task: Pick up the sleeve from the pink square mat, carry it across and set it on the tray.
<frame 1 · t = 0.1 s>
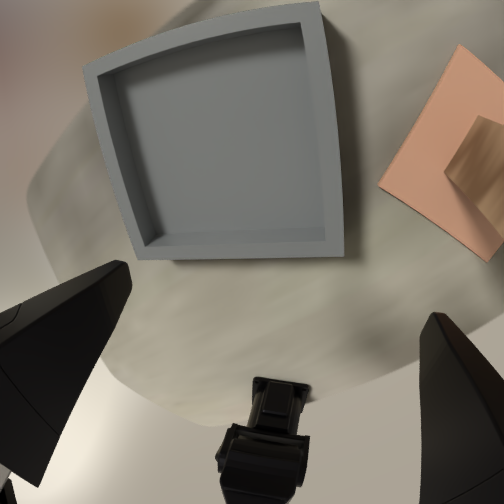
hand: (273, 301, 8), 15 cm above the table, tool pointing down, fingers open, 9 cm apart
pink square mat: (482, 162, 17), on the table
sleeve: (484, 163, 17), resting on pink square mat
tray: (219, 138, 21), on the table
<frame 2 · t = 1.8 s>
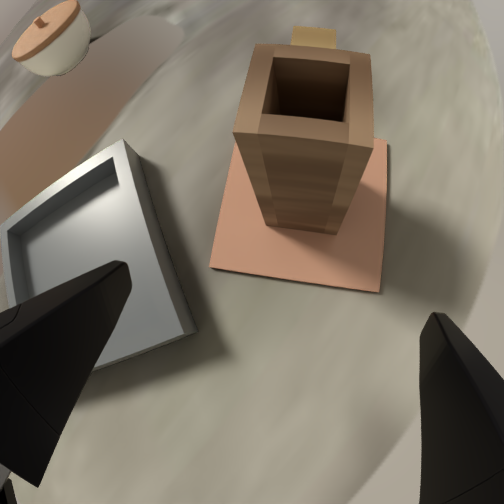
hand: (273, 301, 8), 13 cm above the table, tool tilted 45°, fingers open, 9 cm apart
pink square mat: (305, 199, 23), on the table
sleeve: (305, 197, 22), resting on pink square mat
lidded jar: (71, 60, 32), on the table
tray: (85, 273, 24), on the table
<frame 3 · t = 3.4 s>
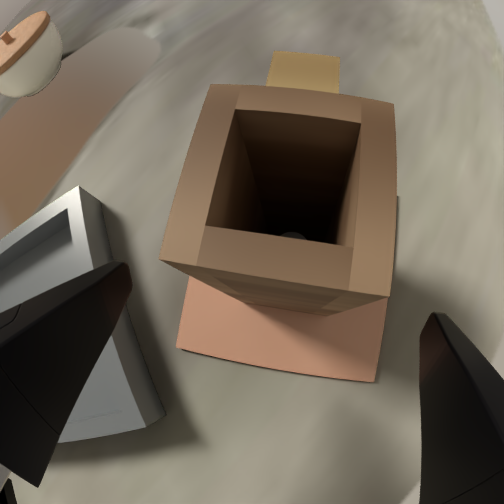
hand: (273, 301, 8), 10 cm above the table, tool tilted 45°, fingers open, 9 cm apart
pink square mat: (291, 268, 19), on the table
sleeve: (291, 267, 18), resting on pink square mat
lidded jar: (43, 78, 28), on the table
tray: (47, 335, 20), on the table
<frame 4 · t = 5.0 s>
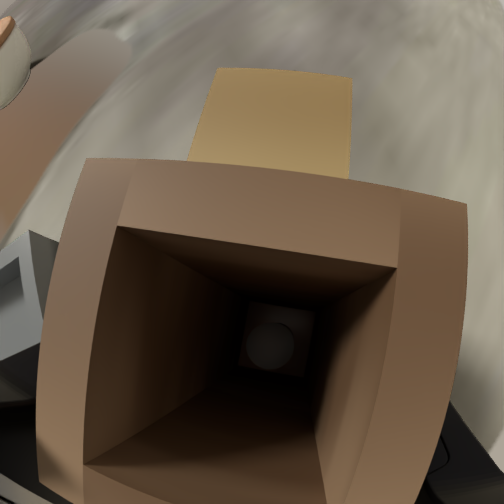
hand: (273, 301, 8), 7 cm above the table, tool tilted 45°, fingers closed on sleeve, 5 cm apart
pink square mat: (277, 339, 15), on the table
sleeve: (276, 339, 15), resting on pink square mat, touching gripper
lidded jar: (12, 89, 24), on the table
tray: (15, 386, 16), on the table
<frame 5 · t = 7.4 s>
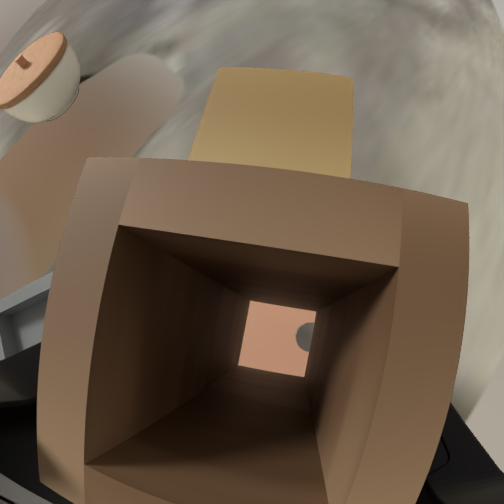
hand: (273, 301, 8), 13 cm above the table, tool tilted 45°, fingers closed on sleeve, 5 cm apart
pink square mat: (306, 333, 21), on the table
sleeve: (277, 339, 15), point 7 cm above the table, touching gripper
lidded jar: (60, 101, 30), on the table
tray: (79, 372, 22), on the table
when the fingers open (9 cm above the table, at t = 10.1 s): sleeve drops 1 cm, resting on tray.
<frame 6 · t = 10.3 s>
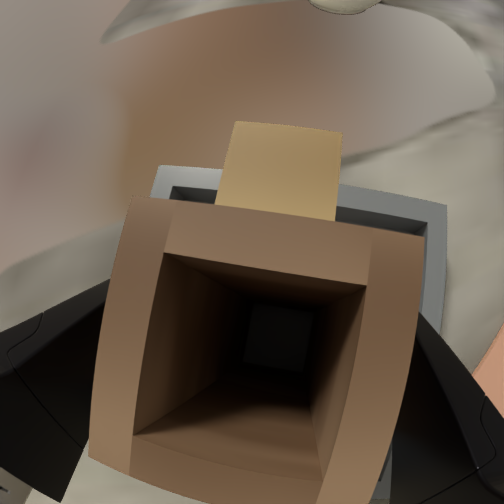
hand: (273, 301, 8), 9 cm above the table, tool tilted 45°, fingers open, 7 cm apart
sleeve: (278, 337, 16), point 1 cm above the table, touching tray
lidded jar: (337, 1, 23), on the table
tray: (279, 337, 17), on the table
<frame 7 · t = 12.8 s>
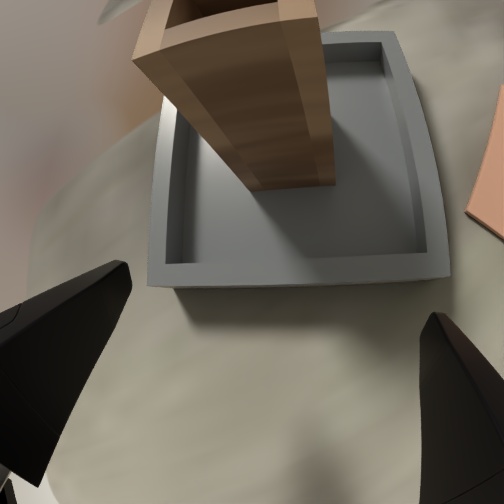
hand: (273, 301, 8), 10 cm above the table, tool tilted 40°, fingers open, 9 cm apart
sleeve: (290, 149, 18), point 1 cm above the table, touching tray
tray: (292, 156, 19), on the table
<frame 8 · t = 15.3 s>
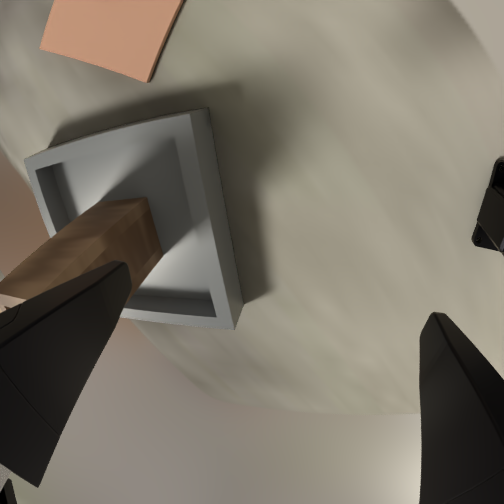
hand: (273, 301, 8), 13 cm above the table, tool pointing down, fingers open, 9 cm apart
sleeve: (129, 228, 24), point 1 cm above the table, touching tray
tray: (135, 222, 25), on the table
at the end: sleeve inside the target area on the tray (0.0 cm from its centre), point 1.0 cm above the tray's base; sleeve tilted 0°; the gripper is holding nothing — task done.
